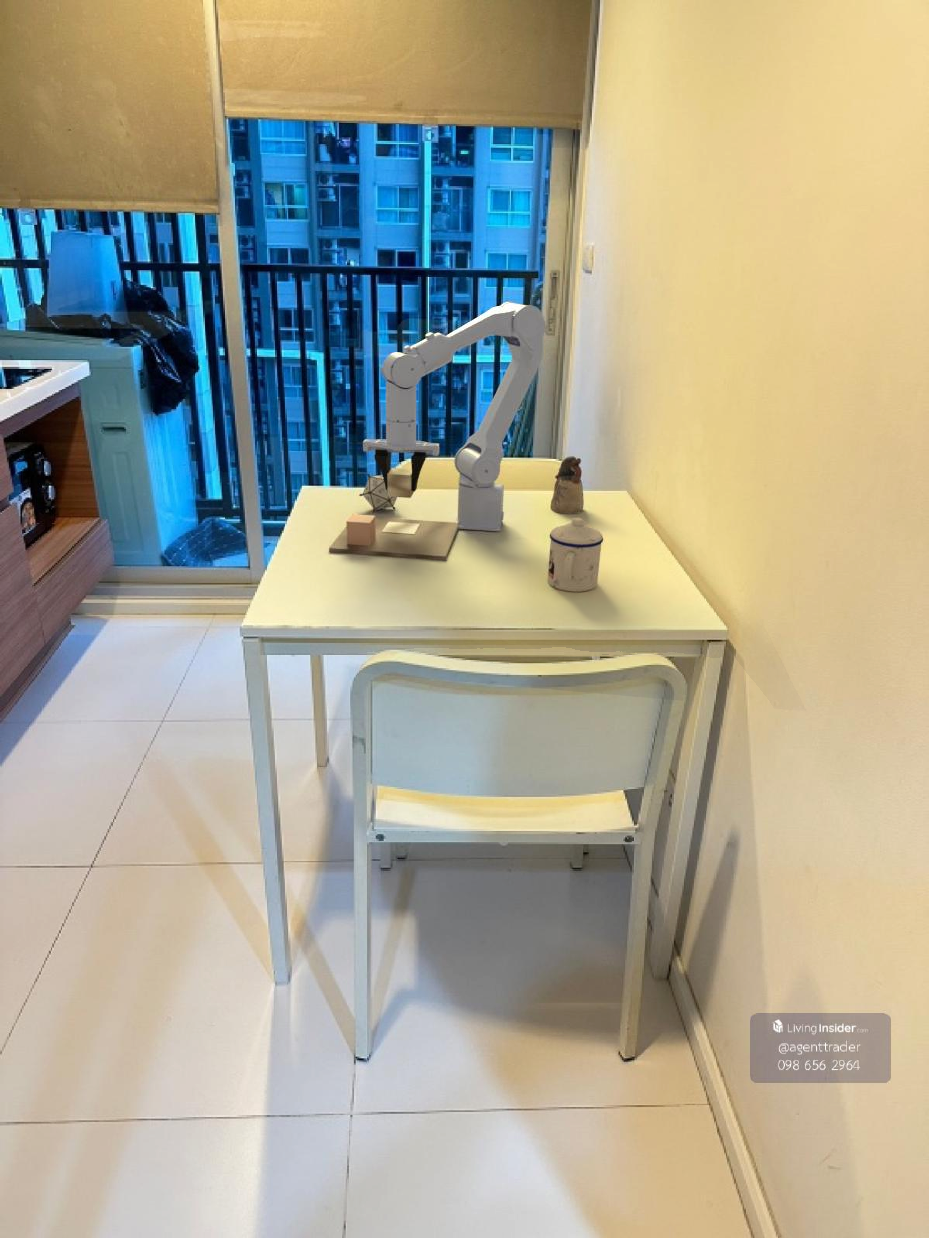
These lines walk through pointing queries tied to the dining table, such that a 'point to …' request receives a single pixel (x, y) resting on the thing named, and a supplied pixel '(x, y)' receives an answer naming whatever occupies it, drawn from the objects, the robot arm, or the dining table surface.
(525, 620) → the dining table surface
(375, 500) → the game die
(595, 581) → the teacup with lid
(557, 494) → the figurine
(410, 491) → the birch block
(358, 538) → the terracotta block
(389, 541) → the brown wooden board
